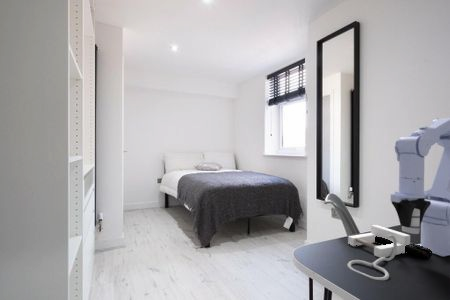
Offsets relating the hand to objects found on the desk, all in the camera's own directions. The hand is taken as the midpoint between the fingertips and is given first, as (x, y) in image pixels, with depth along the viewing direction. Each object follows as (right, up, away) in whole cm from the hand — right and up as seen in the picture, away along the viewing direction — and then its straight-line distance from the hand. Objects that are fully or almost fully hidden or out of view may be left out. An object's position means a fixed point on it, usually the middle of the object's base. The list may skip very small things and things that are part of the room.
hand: (410, 225), depth 69 cm
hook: (-11, -10, -4) cm, 16 cm away
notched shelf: (-5, -9, +7) cm, 13 cm away
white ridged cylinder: (0, -2, 0) cm, 2 cm away
